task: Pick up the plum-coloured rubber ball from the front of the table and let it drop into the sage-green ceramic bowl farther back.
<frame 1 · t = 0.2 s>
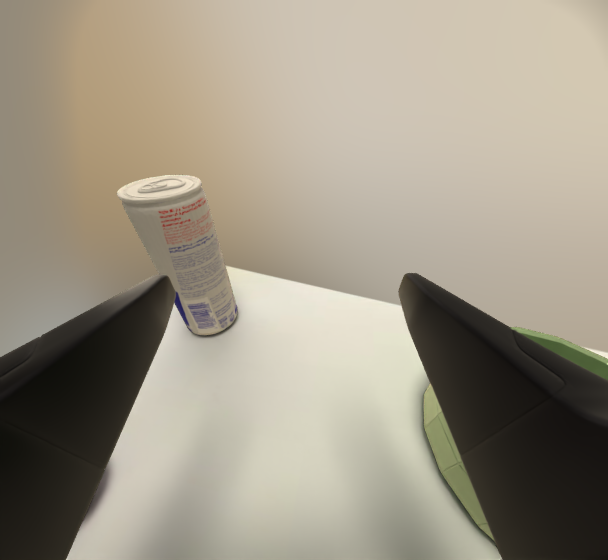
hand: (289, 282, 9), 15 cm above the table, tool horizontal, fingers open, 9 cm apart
green bowl: (516, 449, 17), on the table
beverage can: (214, 318, 26), on the table
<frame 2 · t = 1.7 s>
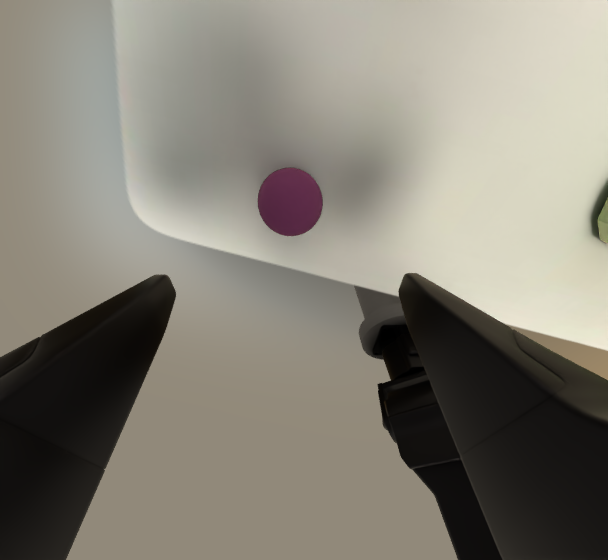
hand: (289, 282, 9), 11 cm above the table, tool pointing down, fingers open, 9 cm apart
ball: (290, 203, 15), point 2 cm above the table
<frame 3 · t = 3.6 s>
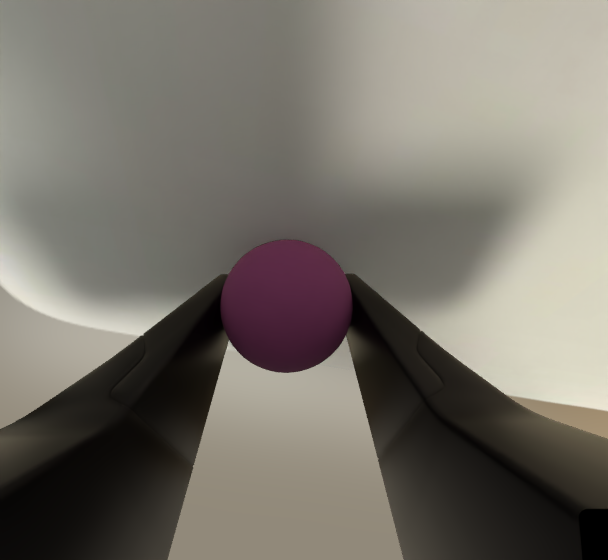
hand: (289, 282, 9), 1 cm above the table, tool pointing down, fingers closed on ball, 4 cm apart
ball: (287, 304, 8), point 2 cm above the table, touching gripper
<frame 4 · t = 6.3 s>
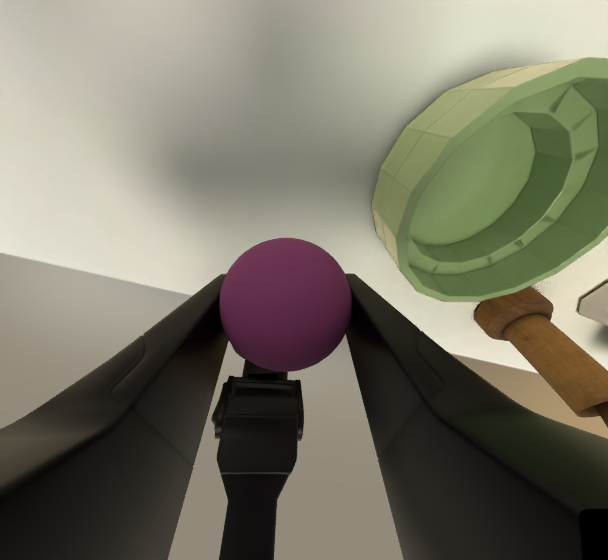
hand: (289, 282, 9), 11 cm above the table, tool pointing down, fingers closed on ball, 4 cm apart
mortar and pestle: (502, 305, 26), on the table
ball: (287, 302, 8), point 12 cm above the table, touching gripper
green bowl: (456, 187, 18), on the table
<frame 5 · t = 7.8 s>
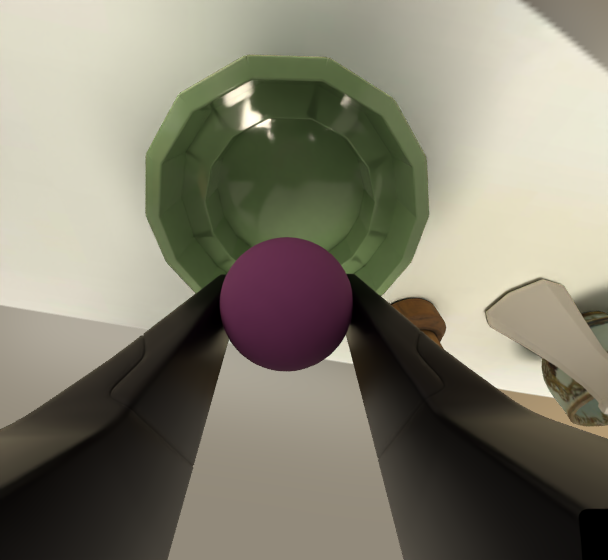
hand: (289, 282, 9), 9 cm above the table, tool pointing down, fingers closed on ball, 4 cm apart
mortar and pestle: (403, 318, 25), on the table
ball: (287, 302, 8), point 10 cm above the table, touching gripper
flask: (520, 304, 24), on the table
green bowl: (292, 199, 16), on the table
bowl: (572, 327, 27), on the table
when the fingers open (6 cm above the table, at t = 9.2 s): ball drops 4 cm, resting on green bowl.
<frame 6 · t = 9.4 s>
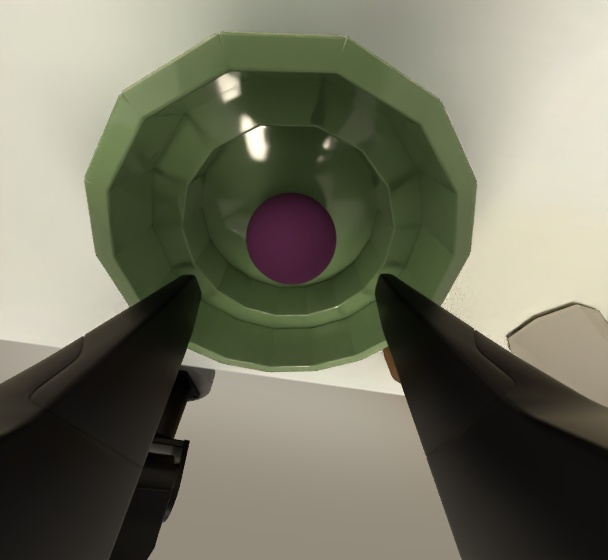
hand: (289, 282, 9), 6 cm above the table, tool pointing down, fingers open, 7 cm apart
ball: (291, 240, 11), point 3 cm above the table, touching green bowl
flask: (546, 329, 21), on the table
green bowl: (291, 218, 13), on the table
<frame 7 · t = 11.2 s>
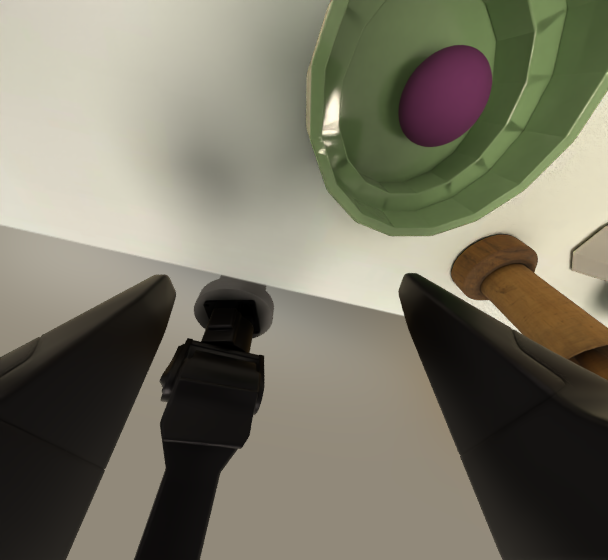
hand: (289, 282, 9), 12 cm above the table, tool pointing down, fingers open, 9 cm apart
mortar and pestle: (482, 261, 24), on the table
ball: (440, 101, 13), point 3 cm above the table, tilted 24°, touching green bowl
green bowl: (406, 102, 15), on the table
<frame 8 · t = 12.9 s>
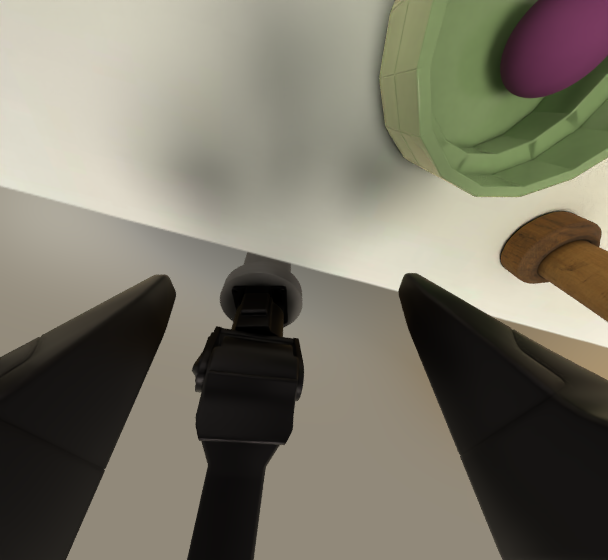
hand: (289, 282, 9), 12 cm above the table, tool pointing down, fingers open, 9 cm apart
mortar and pestle: (534, 242, 22), on the table
ball: (557, 42, 11), point 3 cm above the table, tilted 44°, touching green bowl
green bowl: (488, 53, 14), on the table
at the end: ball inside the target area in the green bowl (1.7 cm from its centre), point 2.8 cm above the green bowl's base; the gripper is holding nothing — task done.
